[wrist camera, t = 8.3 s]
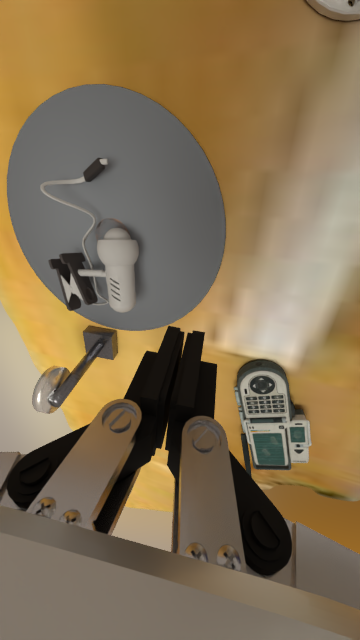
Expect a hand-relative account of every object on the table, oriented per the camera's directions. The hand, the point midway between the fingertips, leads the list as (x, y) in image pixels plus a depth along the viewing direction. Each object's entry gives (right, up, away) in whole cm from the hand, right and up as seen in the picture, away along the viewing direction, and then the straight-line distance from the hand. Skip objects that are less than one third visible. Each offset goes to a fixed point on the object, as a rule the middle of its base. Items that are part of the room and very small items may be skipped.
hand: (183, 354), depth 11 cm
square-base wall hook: (-14, -2, +30) cm, 33 cm away
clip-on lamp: (-11, +13, +21) cm, 27 cm away
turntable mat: (-9, +13, +20) cm, 26 cm away
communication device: (+17, -14, +32) cm, 39 cm away
